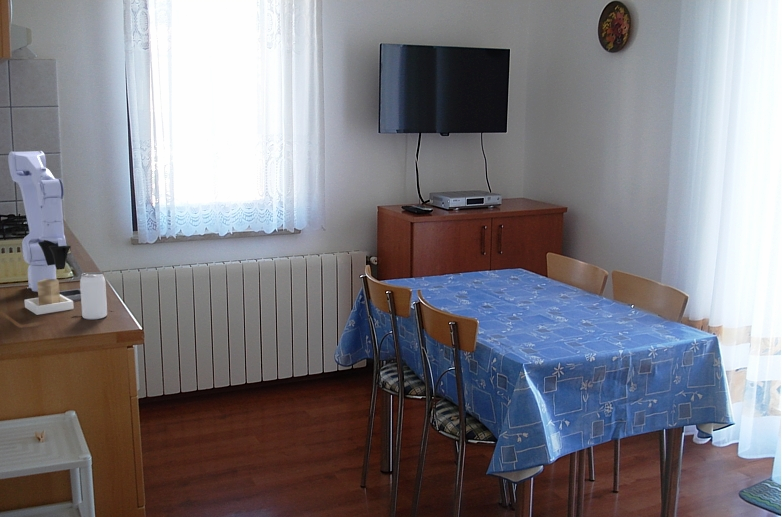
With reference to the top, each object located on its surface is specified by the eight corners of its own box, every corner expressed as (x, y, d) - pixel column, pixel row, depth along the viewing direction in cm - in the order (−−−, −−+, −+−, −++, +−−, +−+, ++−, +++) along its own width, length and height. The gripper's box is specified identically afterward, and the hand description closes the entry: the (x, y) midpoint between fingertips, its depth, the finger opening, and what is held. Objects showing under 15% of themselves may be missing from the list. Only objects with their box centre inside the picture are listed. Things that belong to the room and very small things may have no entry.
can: (99, 320, 216) (96, 277, 214) (77, 319, 217) (74, 276, 215) (111, 314, 222) (109, 272, 220) (90, 313, 223) (88, 271, 221)
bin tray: (25, 309, 226) (24, 299, 225) (61, 304, 232) (60, 294, 231) (36, 317, 218) (36, 306, 218) (73, 311, 225) (73, 301, 224)
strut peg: (39, 309, 224) (37, 282, 222) (47, 306, 228) (45, 278, 226) (52, 310, 223) (50, 282, 222) (60, 306, 227) (58, 279, 225)
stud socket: (50, 299, 237) (50, 292, 237) (81, 294, 243) (80, 287, 243) (61, 305, 231) (60, 298, 230) (92, 300, 236) (91, 293, 236)
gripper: (29, 219, 233) (33, 264, 236) (46, 225, 223) (50, 272, 225) (54, 217, 238) (57, 261, 240) (72, 222, 227) (75, 269, 230)
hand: (55, 267), depth 233 cm, fingers open, 7 cm apart
